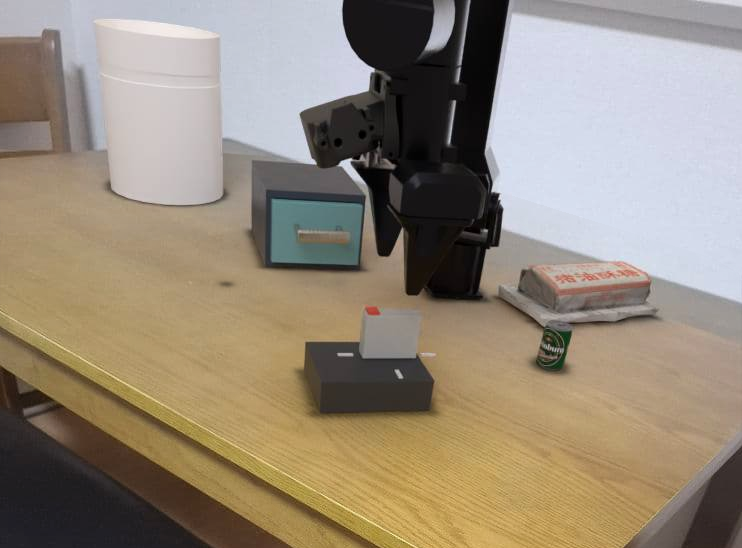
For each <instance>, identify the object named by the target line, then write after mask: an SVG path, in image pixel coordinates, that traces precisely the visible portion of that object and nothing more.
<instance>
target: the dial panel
mask: <svg viewBox="0 0 742 548" xmlns="http://www.w3.org/2000/svg"><path fill="white" fill-rule="evenodd" d="M359 344H360V341H305V342H304V345H305V346H304V360H303V361H304V362H303V363H304V365H303V372H304V375H305V377H306V381H307V384H308V385H309V388H310V391H311V393H312V396H313V398H314V401H315V404H316V407H317V409H318V412H319V414H344V413H345V414H346V413H347V414H348V413H382V412H383V413H384V412H385V413H386V412H425V411H430V410H431V405H432V400H433V399H432V398H433V392H434V385H435V379H434V378H433V376H432V374H431V373H430V372H429V370H428V368H427V366H426V365H425V364H424V362H423V360H422V359H421V358H420V357H436V356H437V355H436V353H435V352H420V353H419V354H420V356H419V354H418V353H416V358H377V359H363V358H362V356H361V354H360V352H359Z"/></svg>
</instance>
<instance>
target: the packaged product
mask: <svg viewBox="0 0 742 548" xmlns="http://www.w3.org/2000/svg"><path fill="white" fill-rule="evenodd" d="M651 283H652V279H651V278H650V275H649V274H648V272H646V271H643V269H640V268H638V267H636V266H634V265H633V264H631V263H628V262H626V261H623V260H622V261H621V260H618V261H617V260H614V261H592V262H591V261H590V262H589V261H588V262H574V263H559V264H558V263H555V264H538V265H528V266H524V268H522V269H521V270H520V275H519V280H518V282H516V283H515V282H514V283H512V282H511V283H499V284H498V297H499V298H501V299H503V300H504V301H505V302H507V303H509V304H510V305H512V306H514V307H515V308H518V309H519V310H520V311H522V312H524V313H525V314H526V315H529V316H530V317H532V318H533V319H534V320H535V321H536V322H537V323H538V324H539V325H540V326H542V327H543V328H545V326H546V325H547V324H546V323H547V322H548V321H550V320H559V321H563V322H566V323H568V324H571V323H587V322H588V323H589V322H617V321H619V320H622V319H625V318H634V317H642V316H653V315H656V314H657V313H658V312H659V310H660V309H659V307H657V306H656V305H654V304H652V303H650V302H649V301H647V299H648V298H650V294H651V293H652V292H651Z"/></svg>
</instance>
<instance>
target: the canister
mask: <svg viewBox="0 0 742 548" xmlns="http://www.w3.org/2000/svg"><path fill="white" fill-rule="evenodd" d="M93 26H94V27H93V28H94V35H95V36H94V37H95V47H96V57H97V61H98V68H99V69H98V75H99V84H100V94H101V104H102V112H103V113H102V114H103V121H104V132H105V140H106V141H105V142H106V150H107V160H108V169H109V181H110V189H111V190H112V191H113V192H114V193H115V194H117V195H119V196H122V197H124V198H126V199H129V200H132V201H133V200H134V201H138V202H143V203H149V204H155V205H164V206H166V205H167V206H170V205H171V206H191V205H192V206H195V205H196V206H197V205H203V204H210V203H213V202H215V201H218V200H221V199H222V197H223V196H224V160H223V158H224V156H223V117H222V116H223V115H222V114H223V112H222V111H223V110H222V109H223V108H222V83H221V72H222V66H221V63H222V61H221V36H220V35H219V34H218V33H216V32H213V31H210V30H206V29H202V28H198V27H192V26H187V25H183V24H182V25H181V24H175V23H166V22H161V21H151V20H142V19H130V18H129V19H128V18H97V19H93Z"/></svg>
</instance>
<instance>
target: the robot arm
mask: <svg viewBox="0 0 742 548" xmlns="http://www.w3.org/2000/svg"><path fill="white" fill-rule="evenodd" d="M514 4H515V0H342V6H341V8H342V9H341V15H342V16H341V17H342V26H343V30H344V33H345V34H344V35H345V37H346V39H347V42H348V45H349V46H350V48H351V50H352V51H353V52H354V53H355V55H356V56H357V58H358V59H359V60H361V61H362V62H363V63H364V65H366V66H367V67H370V68H373V69H374V71H371V72H370V75H369V85H368V90H367V91H363V92H359V93H356V94H351V95H346V96H343V97H340V98H336V99H334V100H331V101H327V102H324V103H321V104H318V105H315V106H312V107H309V108H306V109H304V110H302V111H301V112H300V113H299V114H298V115H299V119H300V122H301V126H302V129H303V133H304V137H305V139H306V144H307V147H308V151H309V154H310V158H311V159H312V160H314V161H315V163H316V164H315V165H317V166H318V167H319V168H322V169H325V168H331V167H335V166H340V164H341V162H344V161H347V160H350V161H349V163H350V166H351V167H352V168H353V170H355V172H356V173H357V174H358V176H359V177H360V178H361V180H362V181H363V182H364V184H365V185H366V188H367V190H368V191H367V192H368V198H369V204H370V210H371V219H372V225H373V233H374V241H375V249H376V254H377V256H378V257H380V258H389V257H390V256H391V255H392V253H393V250H394V248H395V246H396V243H397V242H398V240H399V237H400V234H401V231H402V232H403V233H402V235H403V236H402V238H403V241H402V242H403V278H404V279H403V281H404V282H403V283H404V293H405V295H406V296H408V297H418V296H419V295H421V293H422V291H423V289H424V288H426V290H427V291H428V293H429V294H430V295H431V296H432V298H433V297H434V298H439V299H480V300H481V299H484V295H485V294H484V292H482V290H480V285H481V282H482V281H481V280H482V274H483V271H484V264H485V260H486V254H487V250H491V249H492V248H499V247H500V244H501V237H502V232H503V226H504V225H503V224H504V215H505V214H504V213H505V208H504V206H503V205H502V203H503V201H502V193H501V192H498V189H499V182H500V176H501V171H500V169H499V166H498V163H497V160H496V157H495V155H494V151H493V149H492V145H491V144H492V138H493V131H494V127H495V120H496V114H497V107H498V103H499V95H500V89H501V84H502V83H501V82H502V77H503V73H504V72H503V71H504V66H505V59H506V53H507V46H508V41H509V35H510V29H511V22H512V17H513V10H514V6H515V5H514ZM485 230H487V231H485Z"/></svg>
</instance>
